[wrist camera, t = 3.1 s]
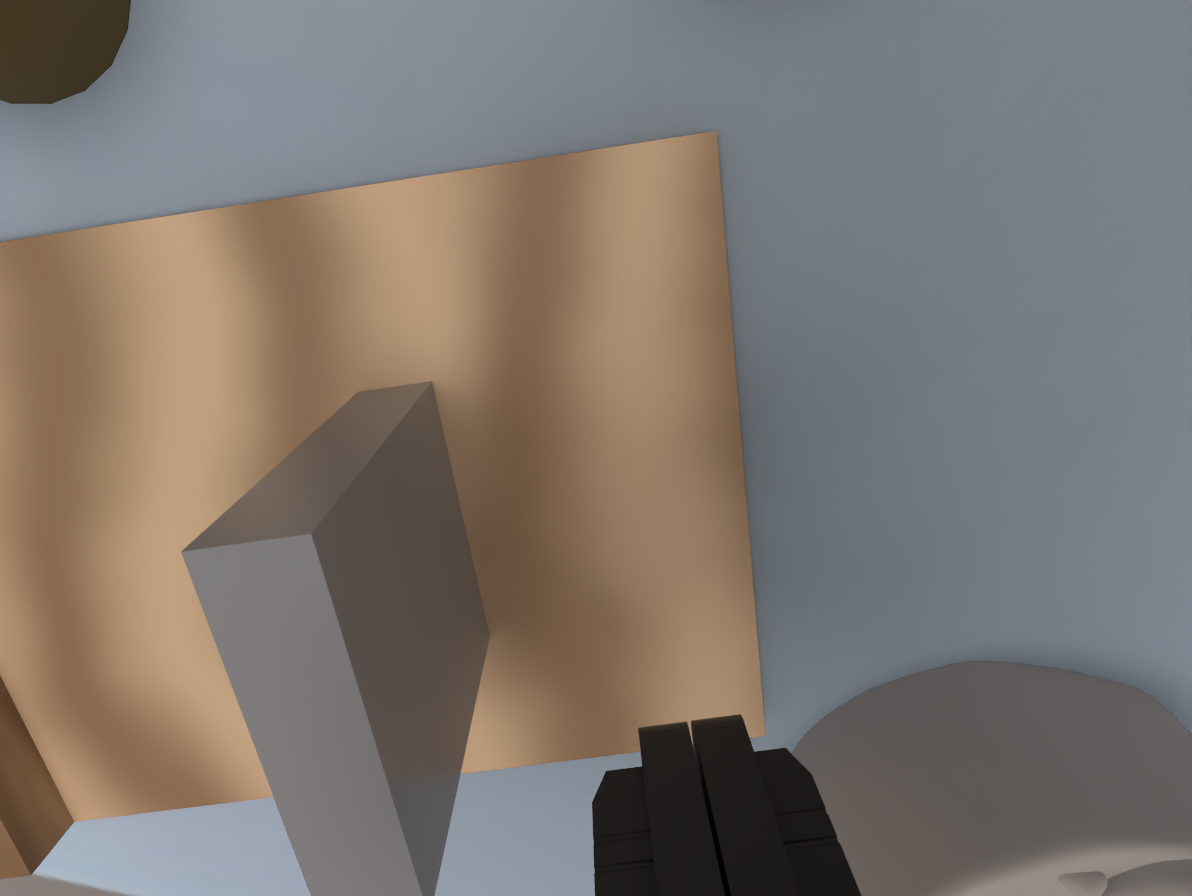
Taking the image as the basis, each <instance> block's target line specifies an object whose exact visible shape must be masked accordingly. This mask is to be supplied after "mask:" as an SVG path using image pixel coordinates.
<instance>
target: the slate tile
mask: <svg viewBox="0 0 1192 896" xmlns="http://www.w3.org/2000/svg"><path fill="white" fill-rule="evenodd" d="M181 553H182V556H183V559H184V561H185V564H186V567H187V569H188V572H189V575H190V577H191V580H192V583H193V585H194V588H195V591H196V593H197V596H198V598H199V601H200V604H201V606H202V609H203V612H204V614H205V617H206V620H207V622H208V625H209V628H210V630H211V633H212V635H213V638H214V641H215V643H216V646H217V649H218V651H219V654H220V657H221V659H222V662H223V665H224V667H225V670H226V672H227V675H228V678H229V680H230V683H231V686H232V688H233V691H234V694H235V696H236V699H237V702H238V704H239V707H240V709H241V712H242V715H243V717H244V720H245V723H246V725H247V728H248V731H249V733H250V736H251V739H252V741H253V744H254V746H255V749H256V752H257V754H258V757H259V760H260V762H261V765H262V768H263V770H264V773H265V776H266V778H267V781H268V783H269V786H270V789H271V791H272V794H273V797H274V799H275V802H276V805H277V807H278V810H279V813H280V815H281V818H282V820H283V823H284V826H285V828H286V831H287V834H288V836H289V839H290V842H291V844H292V847H293V850H294V852H295V855H296V857H297V860H298V863H299V865H300V868H301V871H302V873H303V876H304V879H305V881H306V884H307V887H308V889H309V892H310V894H311V896H434V895H435V890H436V885H437V881H438V876H439V871H440V867H441V862H442V857H443V853H444V848H445V843H446V839H447V834H448V829H449V825H450V820H451V816H452V811H453V806H454V802H455V797H456V792H457V788H458V783H459V778H460V774H461V769H462V764H463V760H464V755H465V750H466V746H467V741H468V736H469V732H470V727H471V722H472V718H473V713H474V708H475V704H476V699H477V694H478V690H479V685H480V680H481V676H482V671H483V666H484V662H485V657H486V652H487V648H488V643H489V638H490V634H489V630H488V626H487V621H486V617H485V612H484V608H483V604H482V599H481V595H480V590H479V586H478V582H477V577H476V573H475V568H474V564H473V560H472V555H471V551H470V546H469V542H468V538H467V533H466V529H465V524H464V520H463V516H462V511H461V507H460V502H459V498H458V494H457V489H456V485H455V480H454V476H453V472H452V467H451V463H450V458H449V454H448V449H447V445H446V441H445V436H444V432H443V427H442V423H441V419H440V414H439V410H438V405H437V401H436V397H435V392H434V388H433V383H432V381H429V382H423V383H416V384H409V385H402V386H395V387H388V388H381V389H374V390H367V391H360V392H357V393H356V394H355V395H354V396H353V397H352V398H351V399H350V400H348V401H347V402H346V403H345V404H344V405H343V406H342V407H341V408H340V409H338V410H337V411H336V412H335V413H334V414H333V415H332V416H331V417H330V418H329V419H327V420H326V421H325V422H324V423H323V424H322V425H321V426H320V427H319V428H317V429H316V430H315V431H314V432H313V433H312V434H311V435H310V436H309V437H307V438H306V439H305V440H304V441H303V442H302V443H301V444H300V445H299V446H297V447H296V448H295V449H294V450H293V451H292V452H291V453H290V454H289V455H288V456H286V457H285V458H284V459H283V460H282V461H281V462H280V463H279V464H278V465H276V466H275V467H274V468H273V469H272V470H271V471H270V472H269V473H268V474H266V475H265V476H264V477H263V478H262V479H261V480H260V481H259V482H258V483H257V484H255V485H254V486H253V487H252V488H251V489H250V490H249V491H248V492H247V493H245V494H244V495H243V496H242V497H241V498H240V499H239V500H238V501H237V502H235V503H234V504H233V505H232V506H231V507H230V508H229V509H228V510H227V511H226V512H224V513H223V514H222V515H221V516H220V517H219V518H218V519H217V520H216V521H214V522H213V523H212V524H211V525H210V526H209V527H208V528H207V529H206V530H204V531H203V532H202V533H201V534H200V535H199V536H198V537H197V538H196V539H194V540H193V541H192V542H191V543H190V544H189V545H188V546H187V547H186V548H185V549H183V550H182V551H181Z"/></svg>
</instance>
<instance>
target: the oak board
mask: <svg viewBox="0 0 1192 896" xmlns="http://www.w3.org/2000/svg"><path fill="white" fill-rule="evenodd" d="M429 381H432V383H433V388H434V392H435V397H436V401H437V405H438V410H439V414H440V419H441V423H442V427H443V432H444V436H445V441H446V445H447V449H448V454H449V458H450V463H451V467H452V472H453V476H454V480H455V485H456V489H457V494H458V498H459V502H460V507H461V511H462V516H463V520H464V524H465V529H466V533H467V538H468V542H469V546H470V551H471V555H472V560H473V564H474V568H475V573H476V577H477V582H478V586H479V590H480V595H481V599H482V604H483V608H484V612H485V617H486V621H487V626H488V630H489V634H490V638H489V643H488V648H487V652H486V657H485V662H484V666H483V671H482V676H481V680H480V685H479V690H478V694H477V699H476V704H475V708H474V713H473V718H472V722H471V727H470V732H469V736H468V741H467V746H466V750H465V755H464V760H463V764H462V769H461V774H463V773H471V772H479V771H487V770H495V769H503V768H511V767H519V766H527V765H536V764H544V763H552V762H560V761H568V760H576V759H584V758H592V757H600V756H608V755H616V754H624V753H632V752H640V751H641V750H640V741H639V733H638V728H639V727H647V726H655V725H662V724H670V723H678V722H686V721H687V723H688V726H689V731H690V735H691V740H692V731H691V721H692V720H699V719H707V718H715V717H723V716H730V715H738V714H741V715H742V717H743V720H744V723H745V726H746V729H747V732H748V735H749V738H753V737H761V736H766V734H765V721H764V709H763V697H762V684H761V672H760V660H759V647H758V635H757V623H756V610H755V598H754V586H753V573H752V561H751V549H750V536H749V524H748V512H747V499H746V487H745V474H744V462H743V450H742V437H741V425H740V413H739V400H738V388H737V376H736V363H735V351H734V339H733V326H732V314H731V302H730V289H729V277H728V265H727V252H726V240H725V228H724V215H723V203H722V191H721V178H720V166H719V154H718V141H717V131H712V132H706V133H700V134H693V135H687V136H680V137H674V138H667V139H661V140H654V141H648V142H642V143H635V144H629V145H622V146H616V147H609V148H603V149H596V150H590V151H584V152H577V153H571V154H564V155H558V156H551V157H545V158H538V159H532V160H526V161H519V162H513V163H506V164H500V165H493V166H487V167H480V168H474V169H468V170H461V171H455V172H448V173H442V174H435V175H429V176H422V177H416V178H410V179H403V180H397V181H390V182H384V183H377V184H371V185H364V186H358V187H352V188H345V189H339V190H332V191H326V192H319V193H313V194H307V195H300V196H294V197H287V198H281V199H274V200H268V201H261V202H255V203H249V204H242V205H236V206H229V207H223V208H216V209H210V210H203V211H197V212H191V213H184V214H178V215H171V216H165V217H158V218H152V219H145V220H139V221H133V222H126V223H120V224H113V225H107V226H100V227H94V228H87V229H81V230H75V231H68V232H62V233H55V234H49V235H42V236H36V237H29V238H23V239H17V240H10V241H4V242H0V879H4V878H12V877H20V876H29V875H32V873H33V872H34V871H35V870H36V868H37V867H38V866H39V865H40V863H41V862H42V861H43V860H44V859H45V857H46V856H47V855H48V854H49V852H50V851H51V850H52V849H53V847H54V846H55V845H56V844H57V842H58V841H59V840H60V839H61V837H62V836H63V835H64V834H65V832H66V831H67V830H68V829H69V827H70V826H71V825H72V824H73V823H74V822H76V821H84V820H92V819H100V818H108V817H116V816H124V815H132V814H140V813H148V812H156V811H164V810H172V809H181V808H189V807H197V806H205V805H213V804H221V803H229V802H237V801H245V800H253V799H261V798H269V797H273V794H272V791H271V789H270V786H269V783H268V781H267V778H266V776H265V773H264V770H263V768H262V765H261V762H260V760H259V757H258V754H257V752H256V749H255V746H254V744H253V741H252V739H251V736H250V733H249V731H248V728H247V725H246V723H245V720H244V717H243V715H242V712H241V709H240V707H239V704H238V702H237V699H236V696H235V694H234V691H233V688H232V686H231V683H230V680H229V678H228V675H227V672H226V670H225V667H224V665H223V662H222V659H221V657H220V654H219V651H218V649H217V646H216V643H215V641H214V638H213V635H212V633H211V630H210V628H209V625H208V622H207V620H206V617H205V614H204V612H203V609H202V606H201V604H200V601H199V598H198V596H197V593H196V591H195V588H194V585H193V583H192V580H191V577H190V575H189V572H188V569H187V567H186V564H185V561H184V559H183V556H182V553H181V551H182V550H183V549H185V548H186V547H187V546H188V545H189V544H190V543H191V542H192V541H193V540H194V539H196V538H197V537H198V536H199V535H200V534H201V533H202V532H203V531H204V530H206V529H207V528H208V527H209V526H210V525H211V524H212V523H213V522H214V521H216V520H217V519H218V518H219V517H220V516H221V515H222V514H223V513H224V512H226V511H227V510H228V509H229V508H230V507H231V506H232V505H233V504H234V503H235V502H237V501H238V500H239V499H240V498H241V497H242V496H243V495H244V494H245V493H247V492H248V491H249V490H250V489H251V488H252V487H253V486H254V485H255V484H257V483H258V482H259V481H260V480H261V479H262V478H263V477H264V476H265V475H266V474H268V473H269V472H270V471H271V470H272V469H273V468H274V467H275V466H276V465H278V464H279V463H280V462H281V461H282V460H283V459H284V458H285V457H286V456H288V455H289V454H290V453H291V452H292V451H293V450H294V449H295V448H296V447H297V446H299V445H300V444H301V443H302V442H303V441H304V440H305V439H306V438H307V437H309V436H310V435H311V434H312V433H313V432H314V431H315V430H316V429H317V428H319V427H320V426H321V425H322V424H323V423H324V422H325V421H326V420H327V419H329V418H330V417H331V416H332V415H333V414H334V413H335V412H336V411H337V410H338V409H340V408H341V407H342V406H343V405H344V404H345V403H346V402H347V401H348V400H350V399H351V398H352V397H353V396H354V395H355V394H356V393H357V392H360V391H367V390H374V389H381V388H388V387H395V386H402V385H409V384H416V383H423V382H429ZM692 745H693V740H692Z"/></svg>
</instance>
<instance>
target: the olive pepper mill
mask: <svg viewBox="0 0 1192 896" xmlns="http://www.w3.org/2000/svg"><path fill="white" fill-rule="evenodd" d="M129 8H130V0H0V100H2V101H5V102H8V103H24V104H50V103H53V102H56V101H58V100H61V99H64V98H66V97H69V96H71V95H74V94H77V93H79V92H82V91H84V90H85V89H87V88H88V87H89V86H90V85H91V84H92V83H93V82H94V81H95V80H96V79H97V78H98V77H99V76H100V75H101V74H102V73H103V72H104V71H105V70H106V69H107V68H109V67H110V66H111V64H112V62H113V60H114V57H115V55H116V53H117V51H118V49H119V47H120V44H121V42H122V40H123V38H124V36H125V33H126V31H127V28H128V18H129Z"/></svg>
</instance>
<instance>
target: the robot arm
mask: <svg viewBox="0 0 1192 896" xmlns="http://www.w3.org/2000/svg"><path fill="white" fill-rule="evenodd" d="M691 731H692V740H693V745H692V740H691V735H690V731H689V726H688V723H687V721H686V722H678V723H670V724H662V725H655V726H647V727H639V728H638V733H639V741H640V750H641V758H642V767H635V768H627V769H619V770H611V771H606V772H605V775H604V777H603V779H602V782H601V784H600V786H599V788H598V791H597V793H596V795H595V797H594V800H593V802H592V810H593V838H594V868H595V874H594V875H595V896H862V895H861V893H860V891H859V888H858V886H857V883H856V881H855V878H854V876H853V873H852V871H851V869H850V866H849V864H848V861H847V859H846V856H845V854H844V851H843V849H842V847H841V844H840V843H839V842H838V839H837V834H836V832H835V829H834V827H833V825H832V822H831V820H830V817H829V815H828V814H827V813H826V808H825V805H824V803H823V800H822V798H821V795H820V793H819V790H818V788H817V785H816V783H815V781H814V778H813V776H812V774H811V773H810V772H809V771H808V770H807V769H806V768H805V767H804V766H803V765H802V764H801V763H800V762H799V761H798V760H797V759H796V758H795V757H794V756H793V755H792V754H791V753H790V752H789V751H788V750H787V749H786V748H781V749H773V750H765V751H757V752H754V750H753V747H752V744H751V741H750V738H749V735H748V732H747V729H746V726H745V723H744V720H743V717H742V715H741V714H738V715H730V716H723V717H715V718H707V719H699V720H692V721H691Z"/></svg>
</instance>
